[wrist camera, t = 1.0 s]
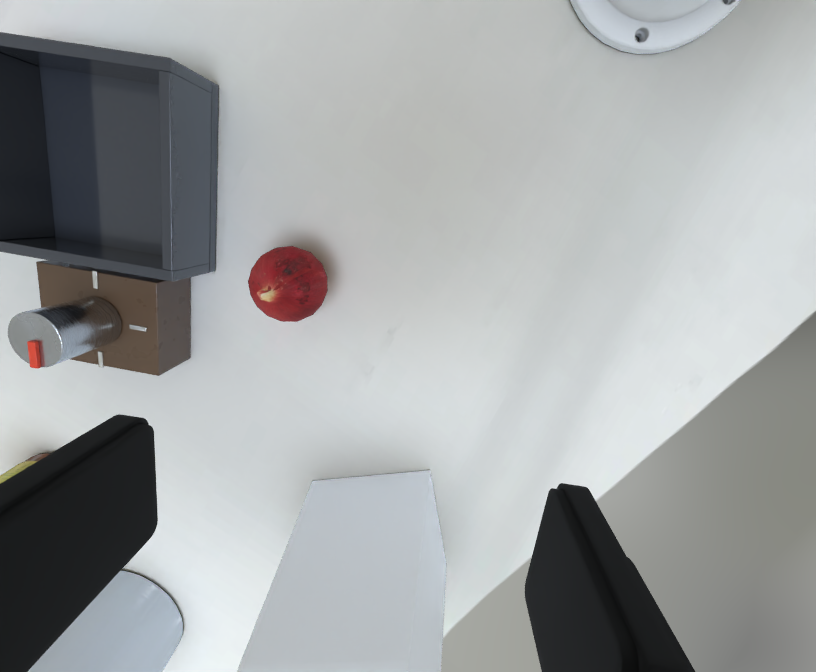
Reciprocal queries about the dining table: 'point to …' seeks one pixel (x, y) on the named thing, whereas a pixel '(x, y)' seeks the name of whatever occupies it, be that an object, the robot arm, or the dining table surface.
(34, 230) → the dark grey open box
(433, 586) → the milk
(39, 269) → the block
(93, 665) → the utensil holder
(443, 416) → the dining table surface
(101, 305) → the metal rotary knob
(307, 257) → the red round fruit
